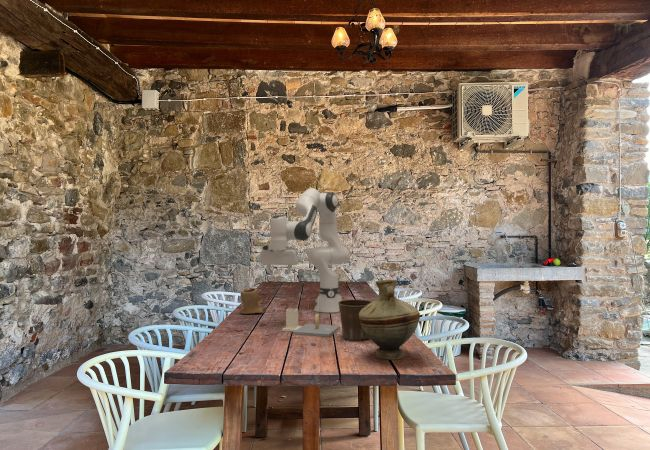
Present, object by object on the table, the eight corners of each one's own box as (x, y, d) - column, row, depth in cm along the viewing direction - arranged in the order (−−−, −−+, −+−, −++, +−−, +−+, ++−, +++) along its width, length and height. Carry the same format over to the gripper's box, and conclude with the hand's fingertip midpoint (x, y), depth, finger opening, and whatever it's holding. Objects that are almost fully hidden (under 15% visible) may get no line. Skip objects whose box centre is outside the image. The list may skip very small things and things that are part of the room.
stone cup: (238, 316, 249) (238, 290, 249) (241, 312, 261) (241, 287, 261) (264, 315, 249) (264, 289, 249) (266, 311, 261) (266, 286, 261)
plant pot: (372, 343, 187) (371, 306, 187) (335, 341, 191) (335, 305, 191) (375, 334, 203) (374, 299, 203) (341, 332, 206) (341, 299, 207)
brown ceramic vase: (383, 346, 185) (375, 276, 186) (435, 350, 170) (425, 274, 171) (352, 362, 166) (342, 285, 167) (406, 369, 151) (396, 283, 152)
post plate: (292, 334, 204) (292, 316, 204) (306, 326, 221) (306, 310, 221) (329, 336, 198) (329, 319, 199) (339, 328, 216) (339, 311, 216)
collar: (282, 330, 211) (282, 310, 212) (288, 327, 219) (288, 307, 219) (296, 331, 209) (296, 311, 209) (302, 328, 216) (301, 308, 216)
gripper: (300, 246, 219) (300, 273, 219) (263, 246, 225) (263, 272, 225) (295, 246, 213) (295, 274, 213) (258, 246, 219) (258, 274, 219)
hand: (279, 273), depth 219 cm, fingers open, 8 cm apart
